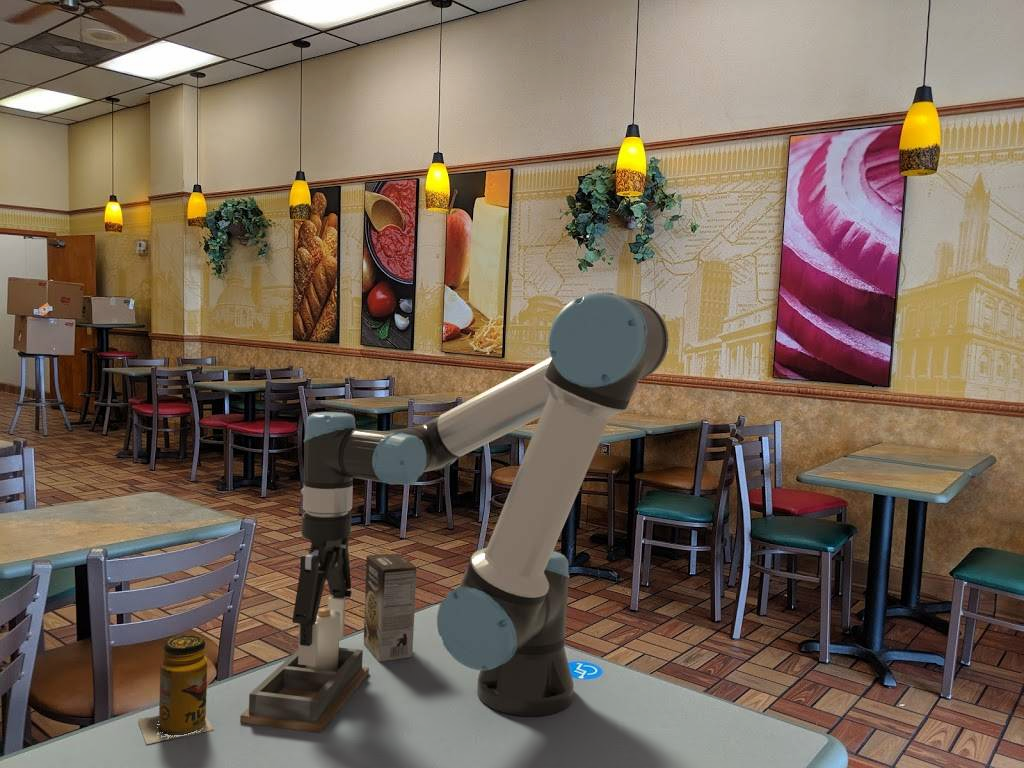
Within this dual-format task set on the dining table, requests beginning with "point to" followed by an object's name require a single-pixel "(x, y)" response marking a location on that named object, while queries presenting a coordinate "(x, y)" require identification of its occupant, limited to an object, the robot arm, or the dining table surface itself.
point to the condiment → (180, 691)
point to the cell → (327, 640)
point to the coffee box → (389, 606)
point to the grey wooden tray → (305, 693)
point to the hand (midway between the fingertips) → (322, 650)
